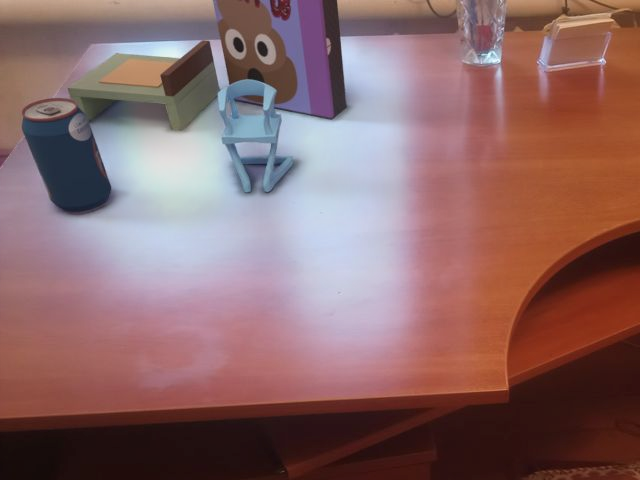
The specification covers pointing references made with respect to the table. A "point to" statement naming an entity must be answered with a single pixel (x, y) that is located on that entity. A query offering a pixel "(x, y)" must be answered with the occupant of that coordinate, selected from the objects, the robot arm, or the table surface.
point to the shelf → (151, 83)
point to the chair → (253, 131)
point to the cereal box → (285, 52)
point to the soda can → (66, 154)
